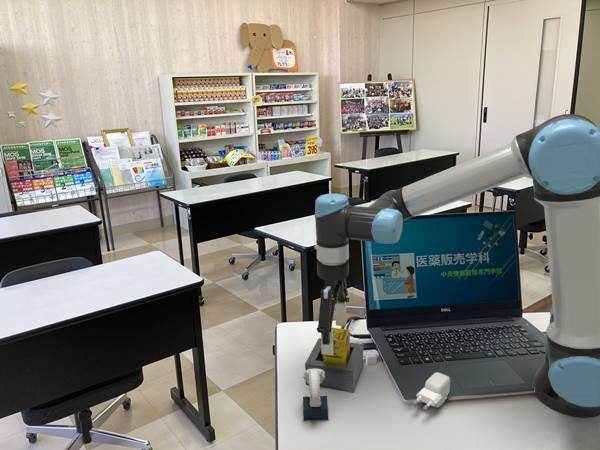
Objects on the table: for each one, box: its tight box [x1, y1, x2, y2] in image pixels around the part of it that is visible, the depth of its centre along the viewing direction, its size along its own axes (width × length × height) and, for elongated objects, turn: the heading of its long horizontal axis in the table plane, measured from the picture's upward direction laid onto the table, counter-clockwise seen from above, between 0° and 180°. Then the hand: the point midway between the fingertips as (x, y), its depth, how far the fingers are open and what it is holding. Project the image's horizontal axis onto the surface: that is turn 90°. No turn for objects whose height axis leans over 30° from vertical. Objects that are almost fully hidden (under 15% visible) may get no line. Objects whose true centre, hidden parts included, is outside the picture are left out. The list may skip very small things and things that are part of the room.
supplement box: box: [323, 327, 351, 365], centre depth 119 cm, size 6×6×11 cm
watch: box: [301, 369, 329, 422], centre depth 106 cm, size 6×8×11 cm
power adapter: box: [412, 371, 451, 411], centre depth 107 cm, size 11×5×6 cm, turn 137°
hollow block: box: [304, 337, 364, 393], centre depth 120 cm, size 12×12×6 cm
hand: (334, 339), depth 118 cm, fingers open, 13 cm apart
